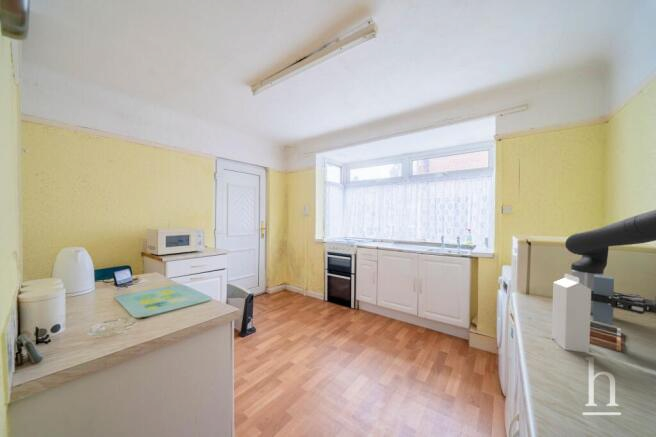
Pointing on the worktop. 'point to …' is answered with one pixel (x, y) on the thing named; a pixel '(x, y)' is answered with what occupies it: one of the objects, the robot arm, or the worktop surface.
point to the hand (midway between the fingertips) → (590, 295)
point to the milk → (571, 314)
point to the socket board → (607, 336)
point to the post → (603, 310)
